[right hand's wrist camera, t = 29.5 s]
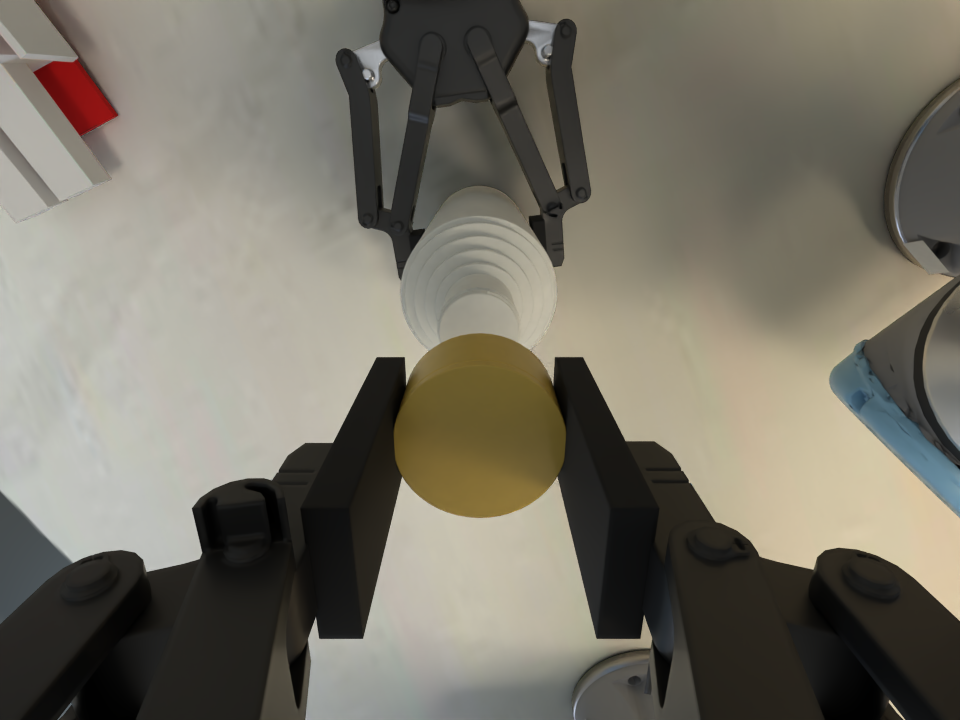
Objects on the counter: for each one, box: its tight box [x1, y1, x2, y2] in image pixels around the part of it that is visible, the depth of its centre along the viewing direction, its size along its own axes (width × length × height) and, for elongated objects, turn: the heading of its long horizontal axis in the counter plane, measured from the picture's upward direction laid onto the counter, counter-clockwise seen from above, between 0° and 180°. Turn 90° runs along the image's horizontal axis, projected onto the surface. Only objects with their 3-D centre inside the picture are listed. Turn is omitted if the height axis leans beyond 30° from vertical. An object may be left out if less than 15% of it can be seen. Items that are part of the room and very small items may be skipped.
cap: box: [394, 333, 566, 518], centre depth 14 cm, size 4×4×2 cm
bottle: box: [400, 186, 558, 351], centre depth 30 cm, size 7×7×23 cm
